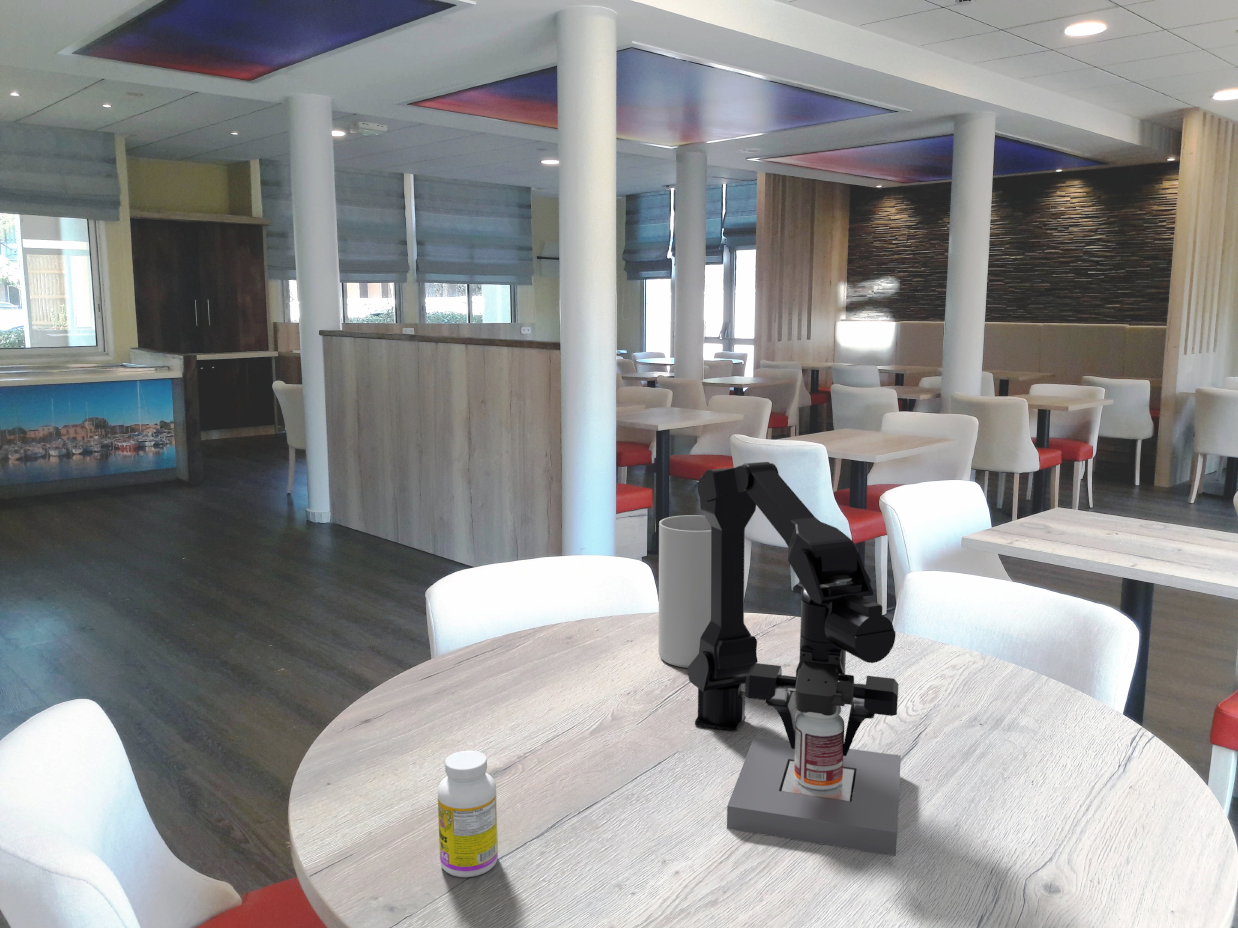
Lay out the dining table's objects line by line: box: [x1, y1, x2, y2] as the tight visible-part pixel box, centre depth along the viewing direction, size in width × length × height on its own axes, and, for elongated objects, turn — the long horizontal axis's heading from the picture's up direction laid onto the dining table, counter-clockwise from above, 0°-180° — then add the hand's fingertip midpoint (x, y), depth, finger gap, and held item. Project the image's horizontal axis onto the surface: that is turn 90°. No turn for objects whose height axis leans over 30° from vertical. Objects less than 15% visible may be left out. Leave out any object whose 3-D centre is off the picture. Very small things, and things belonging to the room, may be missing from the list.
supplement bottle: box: [437, 750, 499, 878], centre depth 110 cm, size 7×7×13 cm
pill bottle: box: [794, 706, 845, 790], centre depth 123 cm, size 6×6×11 cm
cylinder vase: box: [657, 514, 711, 669], centre depth 172 cm, size 12×12×25 cm
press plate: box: [726, 735, 902, 857], centre depth 124 cm, size 20×20×3 cm
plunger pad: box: [782, 761, 854, 802], centre depth 124 cm, size 8×8×3 cm
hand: (819, 751), depth 123 cm, fingers closed on pill bottle, 6 cm apart
